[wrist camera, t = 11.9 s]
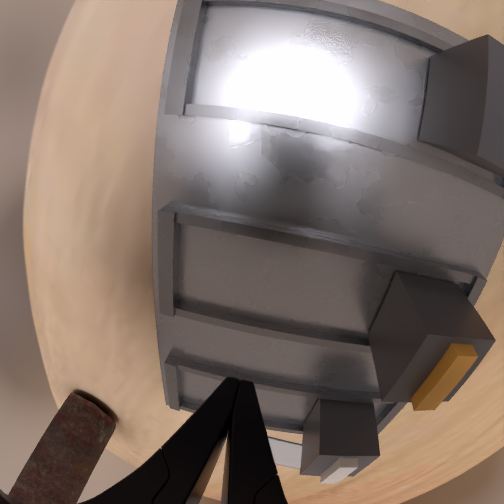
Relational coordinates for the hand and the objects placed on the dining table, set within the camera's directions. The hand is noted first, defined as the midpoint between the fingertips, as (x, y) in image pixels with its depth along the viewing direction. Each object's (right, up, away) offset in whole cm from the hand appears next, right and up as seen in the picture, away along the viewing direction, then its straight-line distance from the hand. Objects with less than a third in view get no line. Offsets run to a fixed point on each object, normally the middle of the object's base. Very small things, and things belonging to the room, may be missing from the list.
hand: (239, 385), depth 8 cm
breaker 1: (+7, -7, +9) cm, 14 cm away
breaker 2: (+9, +10, 0) cm, 14 cm away
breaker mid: (+9, +1, +5) cm, 10 cm away
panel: (+4, +3, +7) cm, 9 cm away
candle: (-20, -16, +20) cm, 32 cm away
